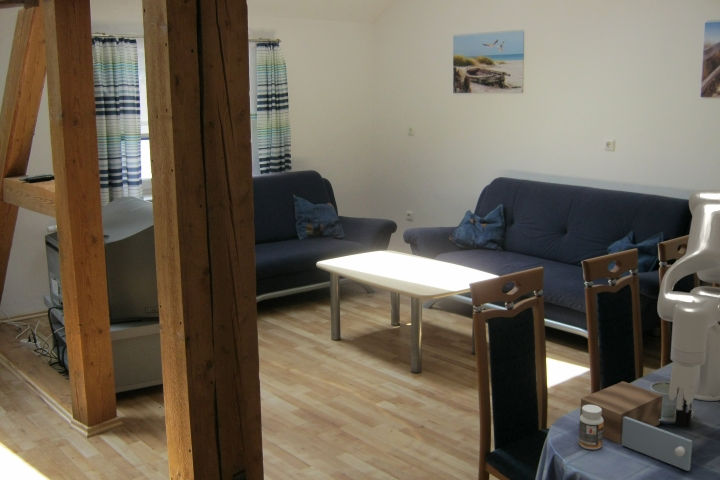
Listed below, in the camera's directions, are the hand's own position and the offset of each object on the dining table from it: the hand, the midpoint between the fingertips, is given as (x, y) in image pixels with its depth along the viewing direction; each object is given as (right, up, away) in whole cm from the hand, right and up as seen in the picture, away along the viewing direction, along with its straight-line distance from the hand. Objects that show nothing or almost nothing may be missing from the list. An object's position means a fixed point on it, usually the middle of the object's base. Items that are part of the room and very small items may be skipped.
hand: (682, 424), depth 180 cm
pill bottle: (-21, -7, +6) cm, 23 cm away
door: (-8, -8, -2) cm, 11 cm away
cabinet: (-10, -4, +16) cm, 19 cm away
